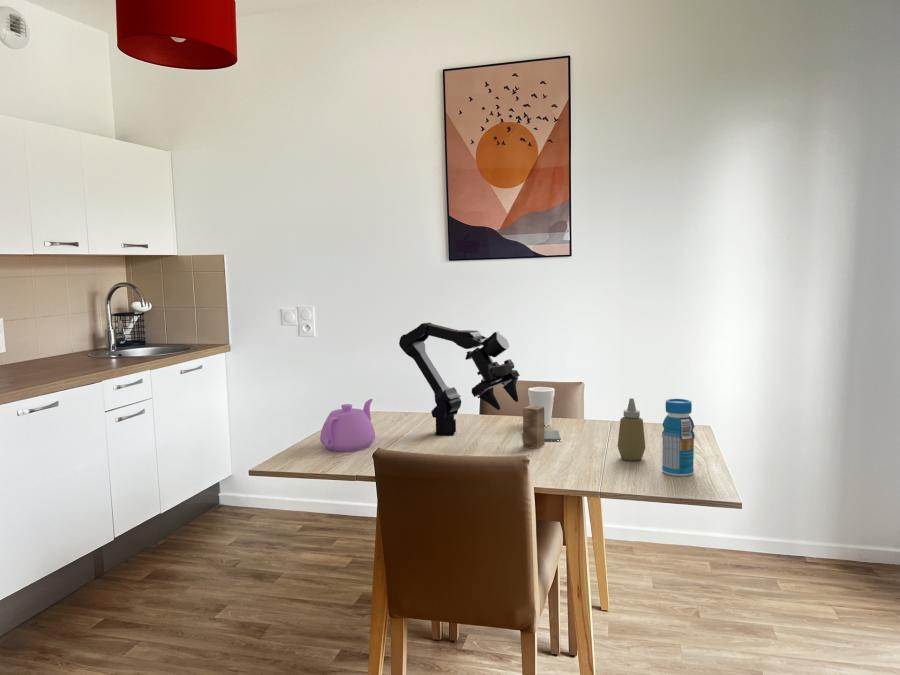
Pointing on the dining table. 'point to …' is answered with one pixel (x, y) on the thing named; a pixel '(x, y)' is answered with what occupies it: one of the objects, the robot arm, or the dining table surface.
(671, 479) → the dining table surface
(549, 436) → the slate coaster
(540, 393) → the foam cup
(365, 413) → the teapot
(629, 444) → the squeeze bottle
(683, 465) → the beverage bottle
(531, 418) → the walnut block
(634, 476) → the dining table surface
